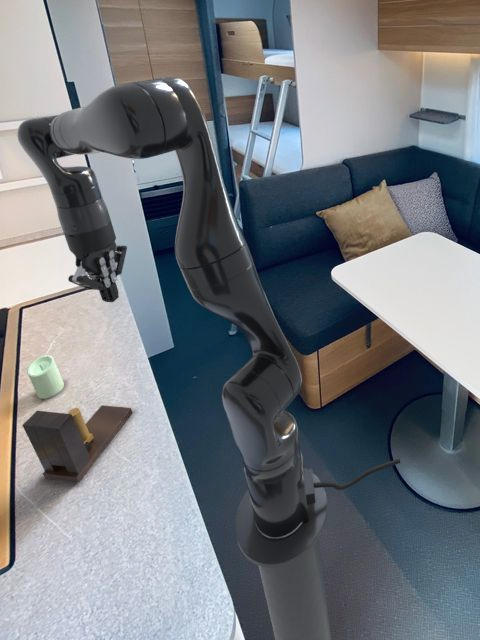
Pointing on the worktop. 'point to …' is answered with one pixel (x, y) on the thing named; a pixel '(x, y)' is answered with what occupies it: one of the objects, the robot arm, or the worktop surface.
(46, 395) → the candle
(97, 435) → the latch
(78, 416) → the bolt
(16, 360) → the worktop surface
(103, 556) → the worktop surface
